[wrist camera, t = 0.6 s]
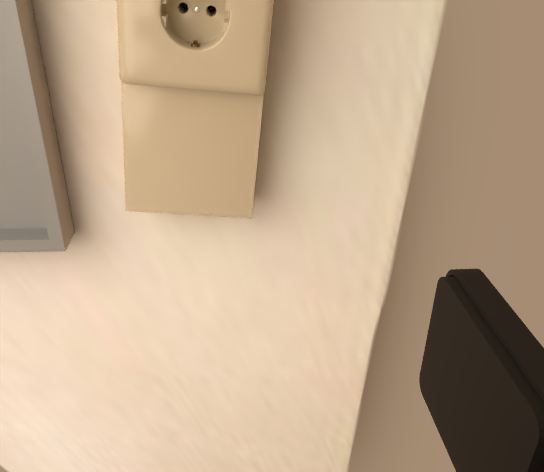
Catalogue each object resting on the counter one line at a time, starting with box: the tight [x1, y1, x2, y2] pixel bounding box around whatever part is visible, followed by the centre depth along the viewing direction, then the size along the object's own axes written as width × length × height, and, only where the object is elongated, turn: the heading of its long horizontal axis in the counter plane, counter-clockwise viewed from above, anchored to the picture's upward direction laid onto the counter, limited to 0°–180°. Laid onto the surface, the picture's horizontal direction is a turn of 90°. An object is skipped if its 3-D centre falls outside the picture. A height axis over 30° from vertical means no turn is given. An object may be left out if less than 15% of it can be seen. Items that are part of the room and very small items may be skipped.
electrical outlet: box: [117, 0, 274, 218], centre depth 27 cm, size 7×4×18 cm
